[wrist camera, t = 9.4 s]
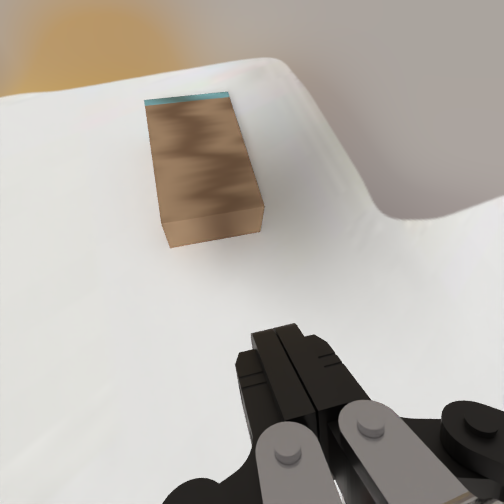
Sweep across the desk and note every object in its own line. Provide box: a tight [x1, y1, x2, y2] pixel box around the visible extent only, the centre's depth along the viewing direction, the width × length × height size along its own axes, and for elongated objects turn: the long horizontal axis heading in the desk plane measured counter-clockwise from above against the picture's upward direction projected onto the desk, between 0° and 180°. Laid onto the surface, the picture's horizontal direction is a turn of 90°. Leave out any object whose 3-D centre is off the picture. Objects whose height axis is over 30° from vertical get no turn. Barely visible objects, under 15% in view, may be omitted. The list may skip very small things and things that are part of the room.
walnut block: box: [144, 92, 265, 248], centre depth 28 cm, size 8×4×14 cm
